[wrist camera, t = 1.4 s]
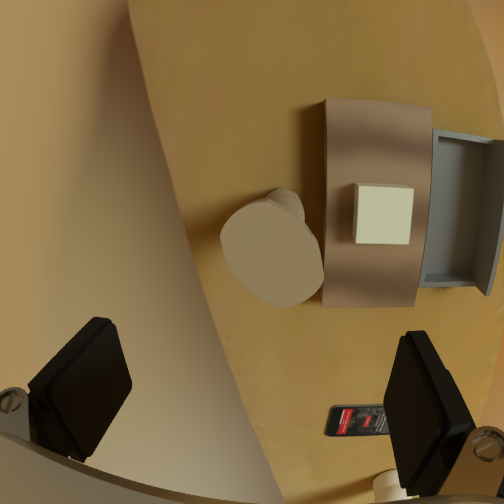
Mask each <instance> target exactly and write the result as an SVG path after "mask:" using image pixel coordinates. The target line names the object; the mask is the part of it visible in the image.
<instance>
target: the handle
mask: <svg viewBox="0 0 504 504" xmlns="http://www.w3.org/2000/svg"><path fill="white" fill-rule="evenodd" d="M220 240H221V244H222V248H223V252H224V256H225V259H226V262H227V264H228V267H229V268H230V270H231V271H232V273H233V274H234V275H235V277H236V278H237V279H238V280H239V281H240V283H241V284H242V285H243V286H244V287H245V288H246V289H247V290H248V291H249V292H250V293H251V294H253V295H254V296H256V297H257V298H259V299H261V300H263V301H265V302H267V303H269V304H271V305H273V306H276V307H278V308H283V307H291V306H294V305H297V304H299V303H301V302H303V301H305V300H307V299H308V298H310V297H311V296H312V295H313V294H314V293H315V292H316V291H317V290H318V289H319V288H320V286H321V285H322V283H323V280H324V272H323V265H322V259H321V253H320V249H319V245H318V242H317V240H316V238H315V236H314V235H313V233H312V232H311V230H310V229H309V227H308V226H307V225H306V224H305V215H304V209H303V205H302V203H301V201H300V199H299V197H298V195H297V194H296V193H295V192H292V191H290V190H287V189H284V188H283V187H280V188H277V190H274V191H272V192H270V193H269V194H268V195H266V196H265V197H264V199H258V200H254V201H251V202H249V203H247V204H245V205H244V206H242V207H240V208H239V209H238V210H237V211H236V212H234V213H233V214H232V215H231V217H230V218H229V219H228V220H227V222H226V223H225V224H224V226H223V228H222V231H221V234H220Z"/></svg>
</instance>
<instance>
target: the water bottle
mask: <svg viewBox="0 0 504 504" xmlns="http://www.w3.org/2000/svg"><path fill="white" fill-rule="evenodd" d="M373 490H374V494H375V503H380V502H389V501H397V500H404V499H412V496H410V497H407V494H406V488H405V489H402V488H401V487H400V483H399V478H398V472H397V469H394V470H389V471H386V472H383V473H381V474H380V475H378V476H377V477H376V478H375V479H374V480H373Z"/></svg>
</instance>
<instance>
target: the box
mask: <svg viewBox="0 0 504 504" xmlns="http://www.w3.org/2000/svg"><path fill="white" fill-rule="evenodd" d="M503 233H504V140H495V139H490V138H485V137H480V136H475V135H469V134H463V133H457V132H451V131H445V130H438V129H432V166H431V184H430V198H429V209H428V219H427V228H426V237H425V244H424V251H423V258H422V264H421V271H420V276H419V282H418V287H464V286H476V287H477V288H478V289H479V290H480V291H481V292H482V293H483V294H484V295H485V296H490V293H491V289H492V285H493V281H494V277H495V273H496V269H497V264H498V260H499V255H500V250H501V245H502V239H503Z"/></svg>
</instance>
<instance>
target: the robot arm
mask: <svg viewBox="0 0 504 504" xmlns="http://www.w3.org/2000/svg"><path fill="white" fill-rule="evenodd" d="M28 387H29V389H30V393H29V394H27V393H26V391H25V390H24V389H22V388H19V387H10V388H8V389H5V390H3V391H1V392H0V504H254V503H244V502H235V501H227V500H220V499H213V498H207V497H201V496H195V495H190V494H185V493H180V492H175V491H171V490H166V489H162V488H158V487H154V486H150V485H146V484H143V483H139V482H135V481H132V480H129V479H125V478H122V477H119V476H115V475H112V474H109V473H106V472H103V471H100V470H98V469H95V468H92V467H89V466H87V465H84V464H81V463H84V462H85V460H86V458H87V457H90V456H91V455H92V454H93V452H94V451H95V449H96V447H97V446H98V444H99V442H100V441H101V439H102V437H103V436H104V434H105V432H106V431H107V429H108V427H109V426H110V424H111V422H112V421H113V419H114V418H115V416H116V414H117V413H118V411H119V409H120V408H121V406H122V404H123V403H124V401H125V399H126V398H127V396H128V395H129V393H130V391H131V389H132V380H131V377H130V374H129V371H128V368H127V364H126V362H125V358H124V354H123V351H122V348H121V344H120V340H119V337H118V333H117V329H116V326H115V324H113V323H112V321H111V320H110V319H108V318H101V317H94V318H92V319H91V320H90V321H89V322H88V323H87V324H86V325H85V326H84V327H83V328H82V329H81V330H80V331H79V332H78V333H77V334H76V335H75V336H74V337H73V338H72V339H71V340H70V341H69V342H68V343H67V344H66V345H65V346H64V347H63V348H62V349H61V350H60V351H59V352H58V353H57V354H56V355H55V356H54V357H53V358H52V359H51V360H50V361H49V362H48V363H47V364H46V366H45V367H44V368H43V369H42V370H41V371H40V372H39V373H38V374H37V375H36V376H35V377H34V378H33V379H32V380H31V381H30V383H28ZM383 406H384V411H385V415H386V420H387V424H388V428H389V433H390V438H391V442H392V447H393V452H394V457H395V462H396V467H397V472H398V478H399V483H400V487H401V488H402V489H405V488H406V494H407V497H410V496H415V495H419V497H420V498H413V499H404V500H397V501H389V502H380V503H369V504H504V432H503V431H502V430H500V429H498V428H496V427H492V426H482V427H478V428H477V427H476V425H475V423H474V421H473V419H472V416H471V414H470V412H469V410H468V408H467V406H466V404H465V402H464V399H463V397H462V395H461V393H460V391H459V389H458V387H457V385H456V383H455V381H454V379H453V377H452V375H451V374H450V372H449V371H448V370H447V369H445V367H444V365H443V363H442V361H441V359H440V357H439V355H438V353H437V352H436V350H435V348H434V346H433V344H432V342H431V341H430V339H429V337H428V335H427V333H426V332H425V331H423V330H421V331H408V332H406V334H405V336H401V337H400V340H399V344H398V348H397V352H396V356H395V360H394V364H393V368H392V372H391V375H390V379H389V382H388V386H387V389H386V392H385V396H384V401H383ZM68 456H70V458H71V459H74V460H76V461H79V462H81V463H79V462H76V461H74V460H71V459H69V458H68Z"/></svg>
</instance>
